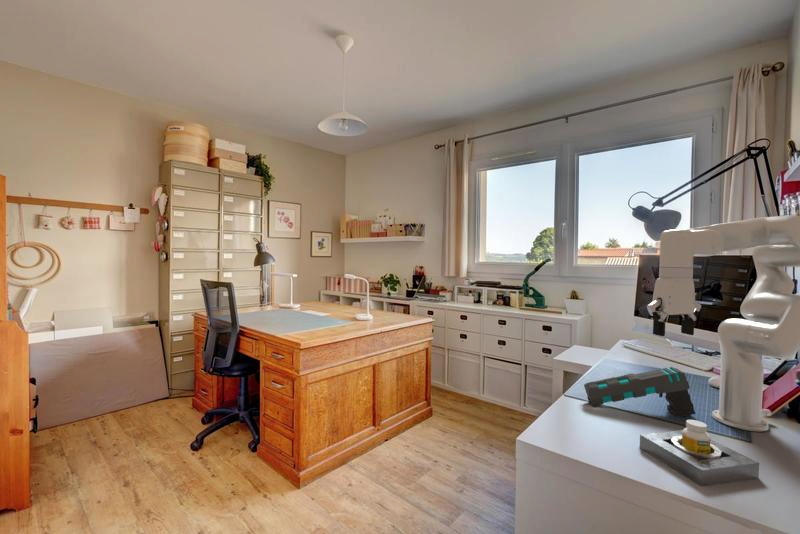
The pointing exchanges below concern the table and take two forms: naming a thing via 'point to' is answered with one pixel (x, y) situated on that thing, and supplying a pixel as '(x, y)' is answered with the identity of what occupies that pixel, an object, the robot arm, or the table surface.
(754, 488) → the table surface
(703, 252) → the robot arm
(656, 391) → the gun
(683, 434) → the supplement bottle
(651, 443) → the bore block
